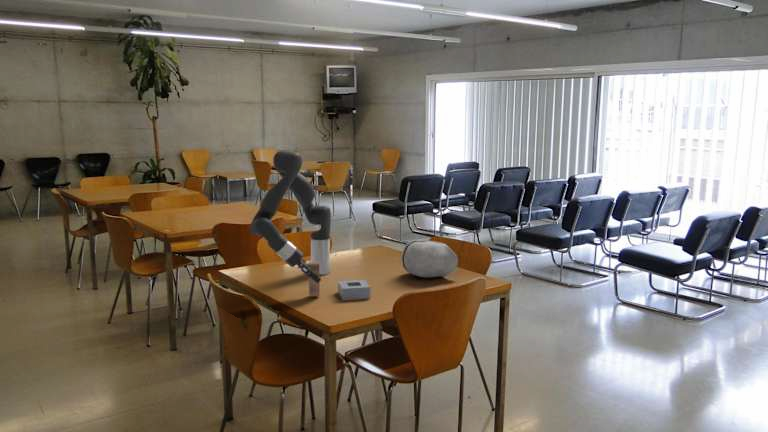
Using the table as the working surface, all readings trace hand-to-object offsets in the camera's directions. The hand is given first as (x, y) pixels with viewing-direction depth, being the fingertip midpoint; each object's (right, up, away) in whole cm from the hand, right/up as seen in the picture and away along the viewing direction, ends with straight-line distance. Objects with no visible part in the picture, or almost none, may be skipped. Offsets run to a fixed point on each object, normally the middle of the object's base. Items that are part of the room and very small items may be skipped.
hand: (318, 279), depth 259 cm
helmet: (+51, -2, +38) cm, 63 cm away
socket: (+15, -7, +4) cm, 17 cm away
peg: (-2, -7, +1) cm, 7 cm away
